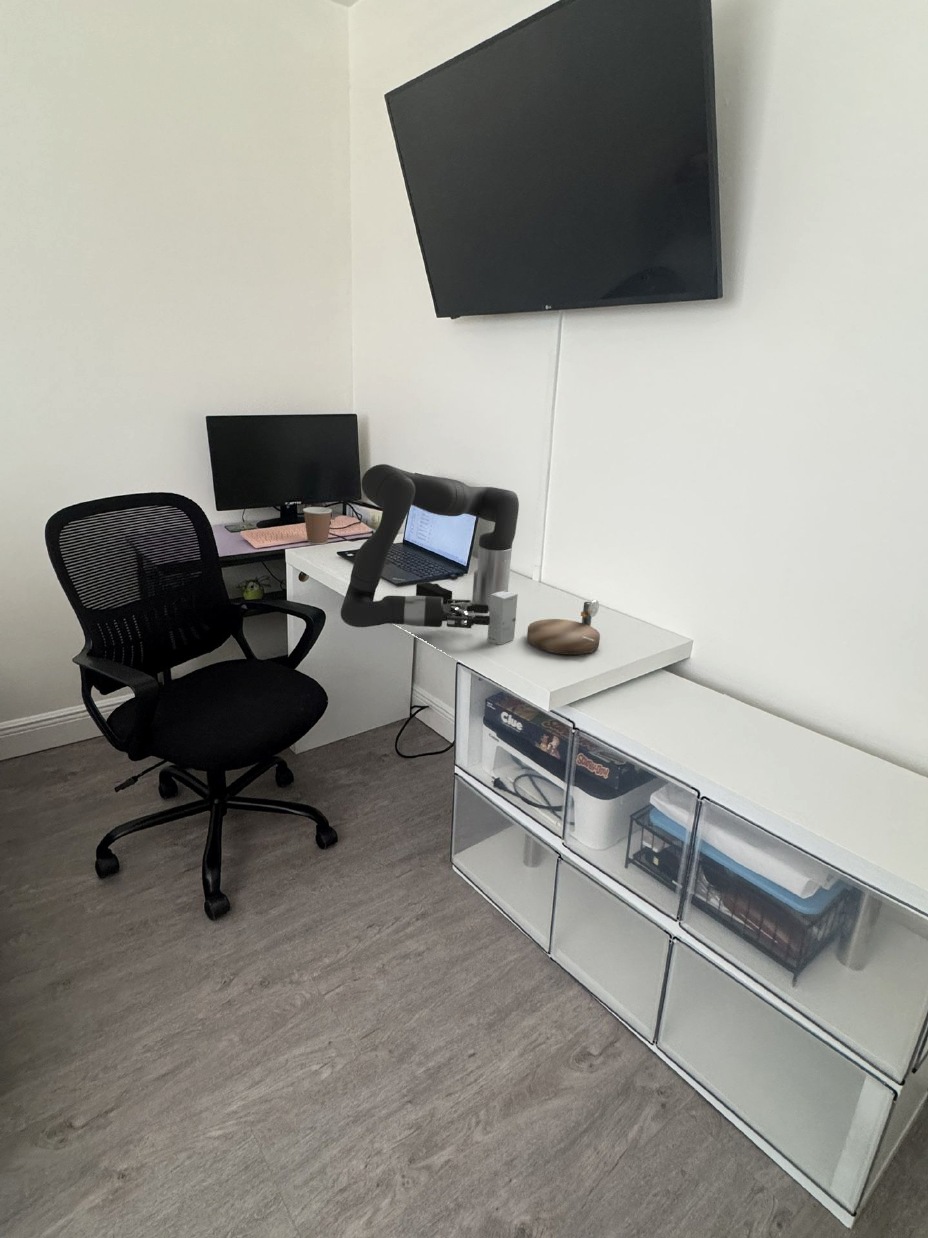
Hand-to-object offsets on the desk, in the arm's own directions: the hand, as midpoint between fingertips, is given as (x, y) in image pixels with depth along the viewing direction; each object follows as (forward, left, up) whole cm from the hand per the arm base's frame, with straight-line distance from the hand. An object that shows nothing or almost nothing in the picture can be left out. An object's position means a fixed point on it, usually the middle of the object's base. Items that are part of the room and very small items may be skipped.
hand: (489, 614), depth 173 cm
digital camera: (-23, +6, -7) cm, 25 cm away
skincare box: (+3, +2, -7) cm, 8 cm away
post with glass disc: (+15, +24, -7) cm, 29 cm away
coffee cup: (-101, +31, -7) cm, 106 cm away
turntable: (+15, +12, -7) cm, 20 cm away
